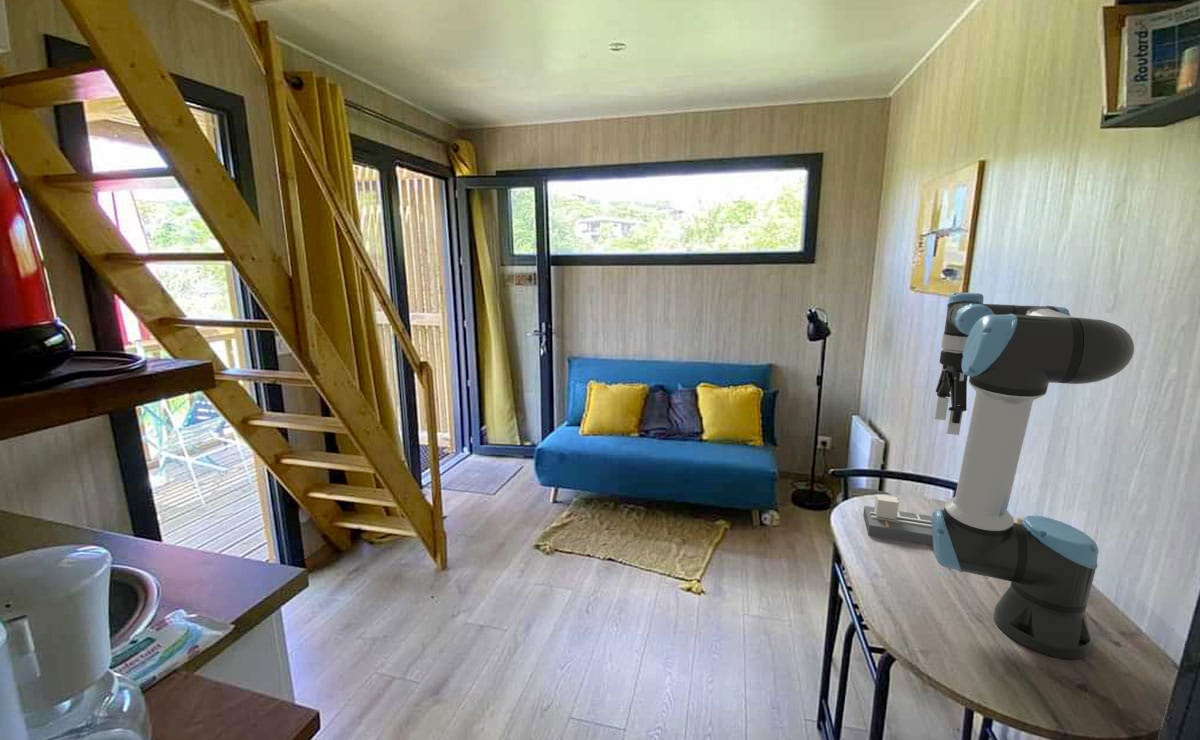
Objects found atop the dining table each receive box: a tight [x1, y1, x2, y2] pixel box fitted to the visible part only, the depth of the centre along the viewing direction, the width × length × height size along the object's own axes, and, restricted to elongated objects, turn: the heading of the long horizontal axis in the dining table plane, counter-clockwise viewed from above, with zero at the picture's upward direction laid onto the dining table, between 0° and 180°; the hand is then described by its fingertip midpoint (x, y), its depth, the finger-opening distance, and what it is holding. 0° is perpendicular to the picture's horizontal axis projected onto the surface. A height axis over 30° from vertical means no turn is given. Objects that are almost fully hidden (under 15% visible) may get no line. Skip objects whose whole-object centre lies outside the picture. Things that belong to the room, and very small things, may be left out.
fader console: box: [862, 505, 934, 547], centre depth 147 cm, size 12×17×4 cm
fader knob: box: [874, 494, 900, 519], centre depth 147 cm, size 4×5×6 cm
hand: (945, 426), depth 146 cm, fingers open, 13 cm apart
